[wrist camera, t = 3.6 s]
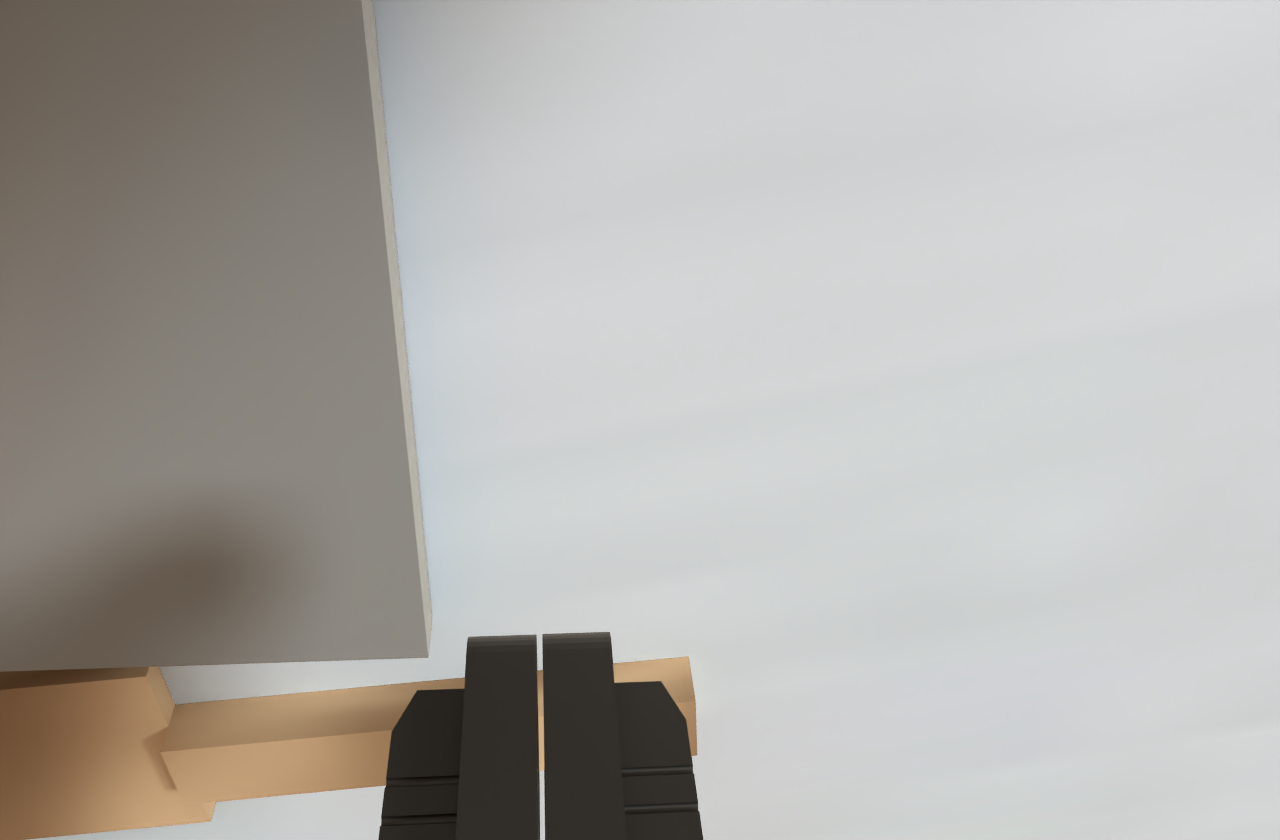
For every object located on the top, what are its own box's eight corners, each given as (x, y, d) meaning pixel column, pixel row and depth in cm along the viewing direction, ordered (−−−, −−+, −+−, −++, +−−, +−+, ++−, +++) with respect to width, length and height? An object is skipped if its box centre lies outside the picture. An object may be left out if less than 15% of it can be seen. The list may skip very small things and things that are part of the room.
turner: (686, 602, 22) (693, 650, 21) (691, 750, 24) (698, 798, 23) (-173, 681, 21) (-207, 734, 20) (-75, 824, 24) (-100, 877, 23)
